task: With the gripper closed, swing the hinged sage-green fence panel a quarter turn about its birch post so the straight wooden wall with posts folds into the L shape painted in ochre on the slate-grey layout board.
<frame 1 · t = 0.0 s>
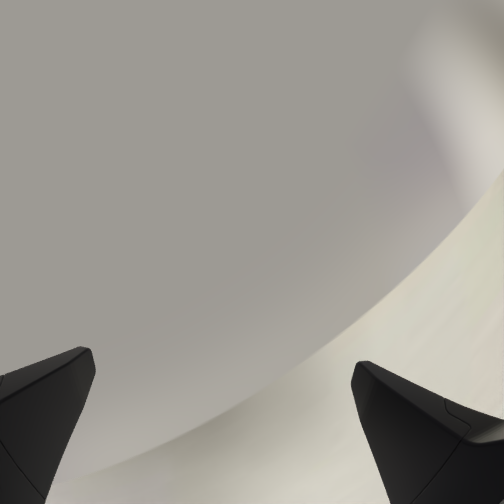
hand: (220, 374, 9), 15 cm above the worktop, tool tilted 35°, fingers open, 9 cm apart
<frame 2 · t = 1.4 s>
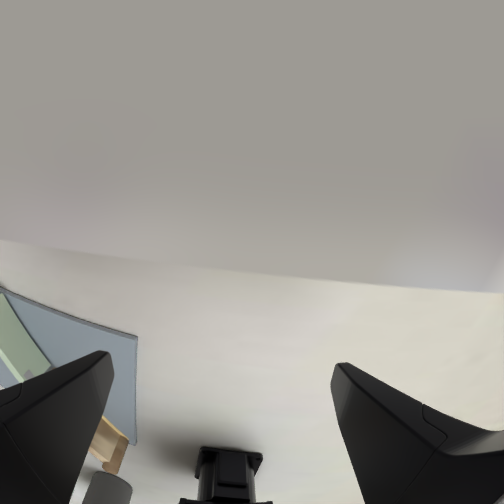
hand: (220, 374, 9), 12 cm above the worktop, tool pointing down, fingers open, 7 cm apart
layout board: (46, 365, 22), on the worktop
fence panel: (11, 340, 18), point 3 cm above the worktop, hinge at 0.0°
bottle: (113, 482, 26), on the worktop
wooden wall with posts: (62, 372, 22), resting on layout board
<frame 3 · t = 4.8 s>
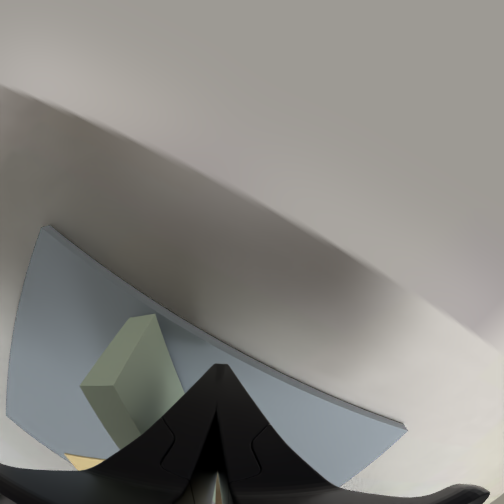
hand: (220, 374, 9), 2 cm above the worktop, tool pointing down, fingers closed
layout board: (181, 449, 12), on the worktop
fence panel: (169, 440, 8), point 3 cm above the worktop, hinge at 0.2°, touching gripper
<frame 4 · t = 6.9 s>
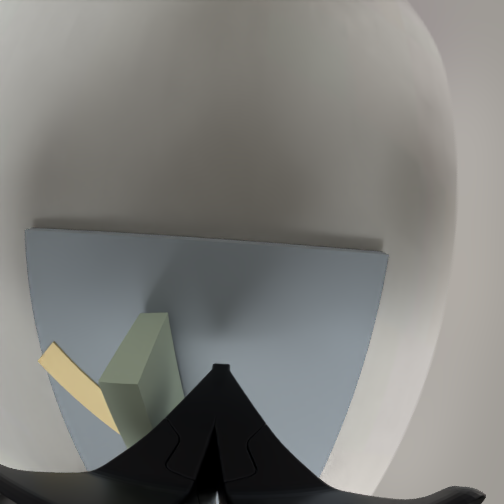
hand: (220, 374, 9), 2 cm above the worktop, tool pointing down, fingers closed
layout board: (195, 440, 12), on the worktop
fence panel: (167, 438, 8), point 3 cm above the worktop, hinge at 52.9°, touching gripper
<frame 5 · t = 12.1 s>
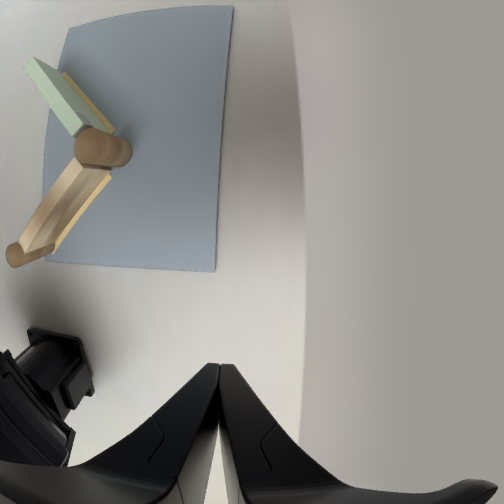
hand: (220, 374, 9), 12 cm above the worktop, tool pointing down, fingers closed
layout board: (124, 126, 18), on the worktop
fence panel: (64, 98, 14), point 3 cm above the worktop, hinge at 89.1°
wooden wall with posts: (122, 154, 18), resting on layout board
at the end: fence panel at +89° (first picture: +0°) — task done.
